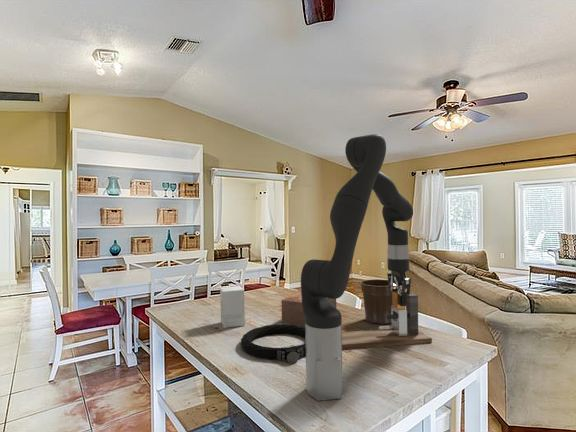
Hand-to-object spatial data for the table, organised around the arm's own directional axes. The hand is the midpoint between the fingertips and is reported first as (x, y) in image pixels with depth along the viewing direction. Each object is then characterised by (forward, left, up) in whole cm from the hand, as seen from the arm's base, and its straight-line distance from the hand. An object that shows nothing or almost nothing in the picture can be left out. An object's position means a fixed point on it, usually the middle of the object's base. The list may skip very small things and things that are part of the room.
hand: (398, 303), depth 125 cm
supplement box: (+29, +60, -13) cm, 68 cm away
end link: (0, +3, -11) cm, 11 cm away
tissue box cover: (+32, +26, -13) cm, 43 cm away
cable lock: (+1, +43, -13) cm, 45 cm away
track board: (0, +8, -12) cm, 15 cm away
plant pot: (+22, -2, -13) cm, 26 cm away
